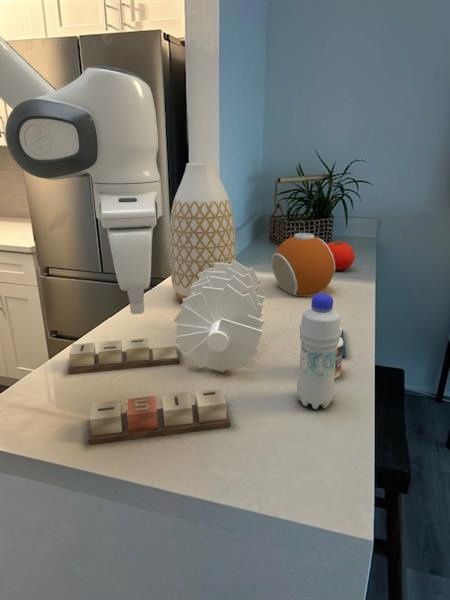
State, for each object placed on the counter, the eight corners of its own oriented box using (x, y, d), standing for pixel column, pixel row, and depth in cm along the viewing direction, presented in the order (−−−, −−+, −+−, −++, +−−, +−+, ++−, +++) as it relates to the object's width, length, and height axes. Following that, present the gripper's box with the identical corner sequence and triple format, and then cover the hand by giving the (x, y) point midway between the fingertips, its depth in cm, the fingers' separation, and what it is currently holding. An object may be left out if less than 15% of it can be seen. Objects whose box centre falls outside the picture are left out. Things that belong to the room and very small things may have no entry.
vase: (162, 307, 120) (154, 164, 107) (184, 286, 137) (179, 161, 124) (227, 312, 116) (226, 165, 103) (241, 291, 133) (242, 162, 120)
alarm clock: (343, 295, 129) (349, 238, 123) (293, 303, 122) (296, 243, 116) (308, 277, 145) (311, 226, 139) (262, 284, 139) (263, 230, 133)
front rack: (88, 445, 65) (85, 422, 64) (92, 421, 71) (89, 400, 69) (230, 426, 69) (230, 405, 68) (223, 405, 75) (223, 385, 73)
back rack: (68, 374, 85) (65, 355, 84) (72, 360, 91) (70, 342, 89) (179, 363, 89) (178, 345, 88) (176, 350, 95) (175, 333, 93)
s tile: (128, 431, 67) (127, 414, 66) (128, 414, 71) (127, 398, 70) (157, 427, 67) (156, 411, 66) (156, 411, 72) (155, 395, 71)
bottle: (295, 389, 79) (301, 287, 73) (332, 392, 78) (342, 289, 72) (295, 410, 73) (301, 300, 66) (335, 414, 72) (346, 303, 65)
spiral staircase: (196, 394, 85) (210, 335, 108) (278, 364, 81) (275, 310, 104) (151, 318, 80) (176, 273, 103) (237, 281, 75) (243, 243, 98)
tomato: (328, 263, 163) (331, 236, 159) (359, 269, 154) (362, 241, 151) (311, 268, 156) (313, 240, 152) (341, 276, 147) (344, 246, 144)
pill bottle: (326, 383, 81) (330, 335, 78) (304, 371, 86) (307, 325, 82) (346, 374, 85) (351, 328, 81) (324, 363, 89) (327, 319, 86)
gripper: (108, 195, 67) (117, 280, 71) (99, 216, 48) (111, 329, 53) (150, 194, 68) (155, 278, 73) (156, 213, 49) (163, 325, 54)
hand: (137, 300), depth 62 cm, fingers open, 8 cm apart
